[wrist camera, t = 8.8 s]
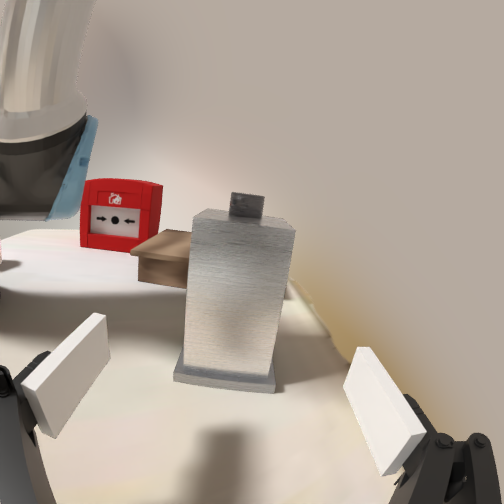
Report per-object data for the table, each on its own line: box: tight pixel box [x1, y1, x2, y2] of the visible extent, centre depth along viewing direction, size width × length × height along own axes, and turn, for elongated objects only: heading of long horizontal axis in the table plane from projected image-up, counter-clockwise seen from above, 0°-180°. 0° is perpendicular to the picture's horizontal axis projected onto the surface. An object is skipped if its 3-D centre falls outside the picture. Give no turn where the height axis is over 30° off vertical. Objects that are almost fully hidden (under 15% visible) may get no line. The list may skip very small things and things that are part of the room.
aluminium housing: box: [173, 192, 296, 394], centre depth 24 cm, size 8×8×15 cm
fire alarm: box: [80, 178, 163, 253], centre depth 58 cm, size 16×11×15 cm
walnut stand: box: [130, 229, 192, 289], centre depth 50 cm, size 20×20×5 cm
